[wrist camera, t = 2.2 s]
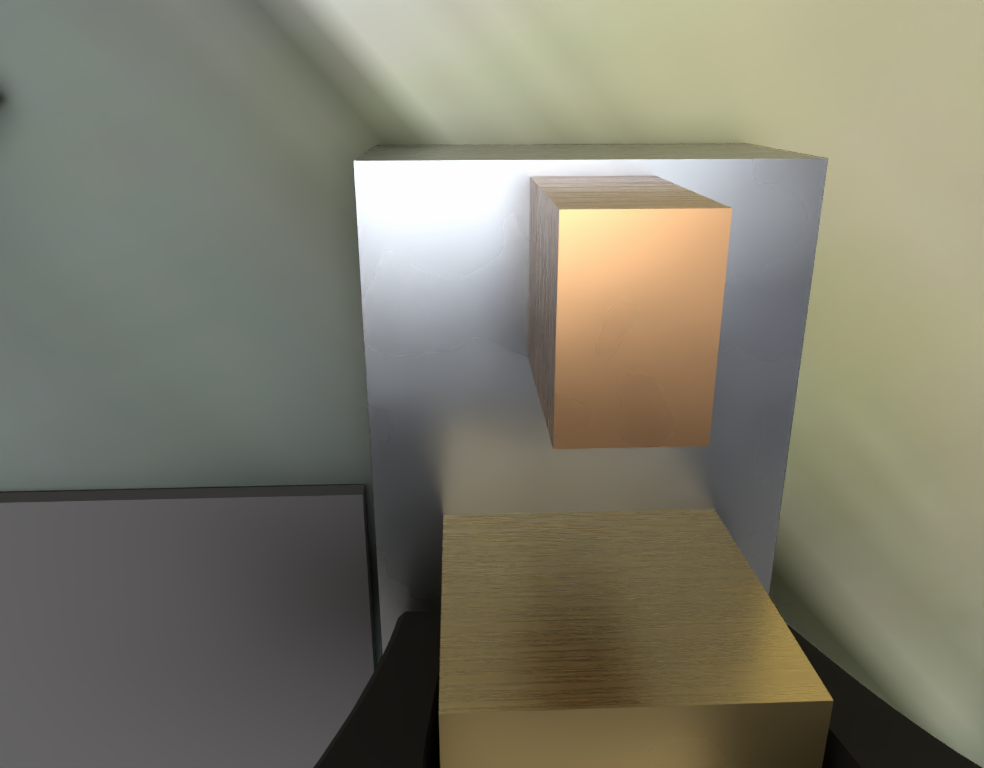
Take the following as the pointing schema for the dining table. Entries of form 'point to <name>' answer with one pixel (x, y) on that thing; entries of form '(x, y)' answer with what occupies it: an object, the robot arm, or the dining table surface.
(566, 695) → the tan cube
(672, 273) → the body
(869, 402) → the dining table surface
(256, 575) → the mat
